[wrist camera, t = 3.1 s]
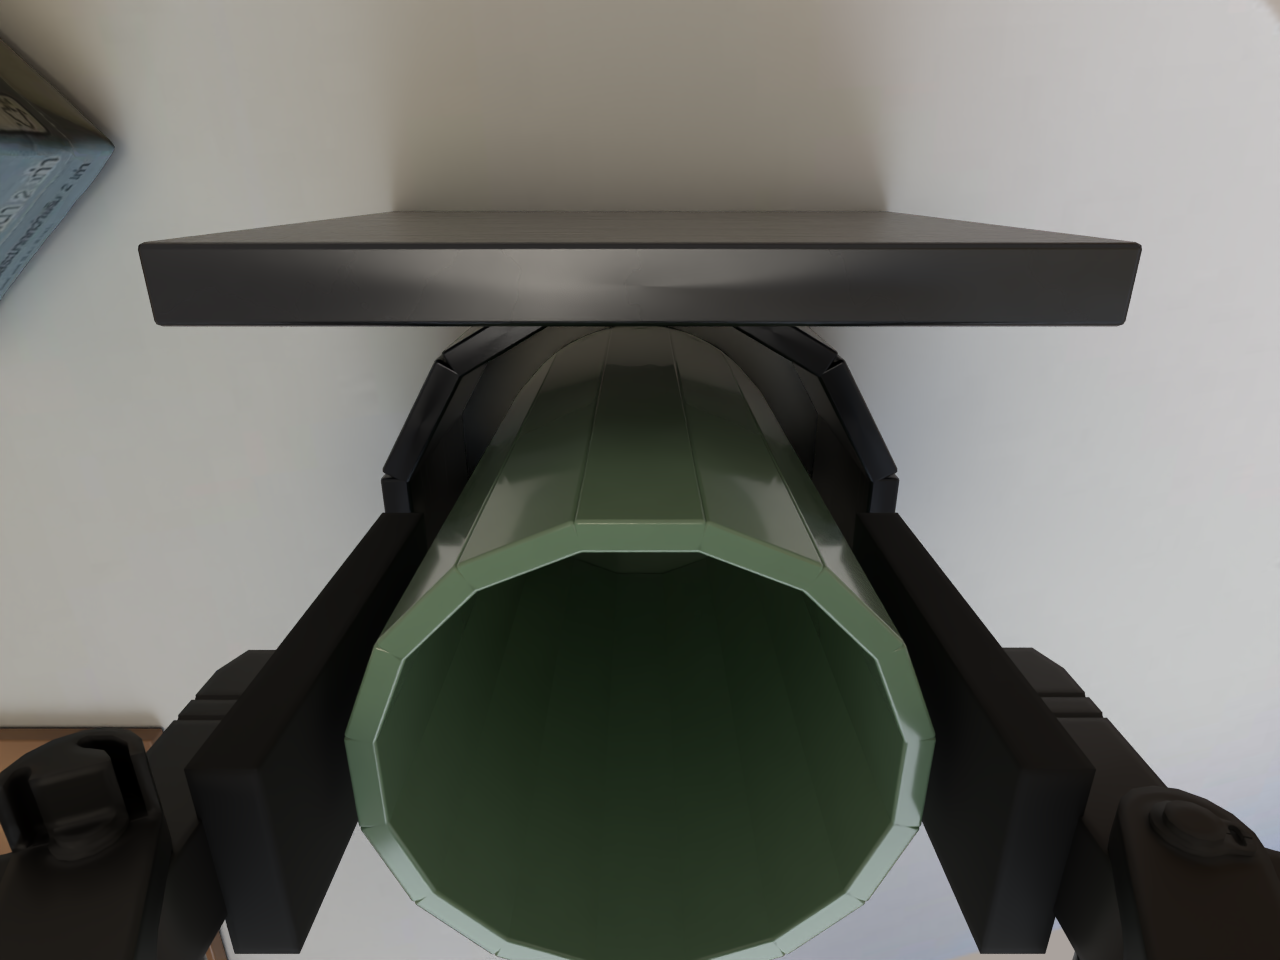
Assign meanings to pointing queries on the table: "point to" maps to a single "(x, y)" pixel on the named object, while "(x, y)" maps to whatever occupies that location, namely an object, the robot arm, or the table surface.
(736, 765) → the cup
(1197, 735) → the table surface
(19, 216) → the beverage carton
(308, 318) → the ring cup holder
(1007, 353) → the table surface
